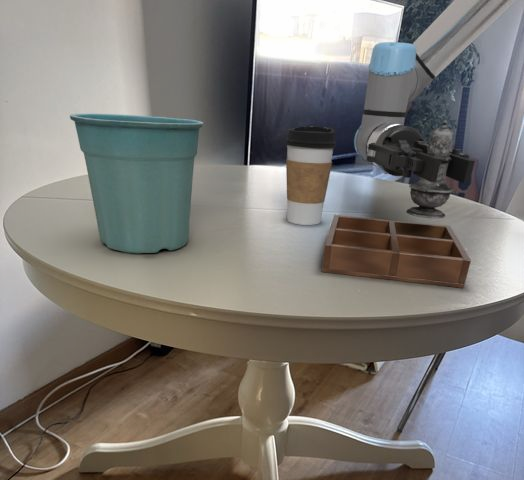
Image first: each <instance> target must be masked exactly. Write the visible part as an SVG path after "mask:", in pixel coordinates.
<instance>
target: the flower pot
mask: <svg viewBox="0 0 524 480" xmlns="http://www.w3.org/2000/svg"><path fill="white" fill-rule="evenodd" d="M69 119H70V120H71V121H73V122H74V127H75V130H76V134H77V139H78V145H79V149H80V151H81V152H82V153H83V156H84V157H83V158H84V161H85V166H86V171H87V177H88V181H89V187H90V192H91V198H92V202H93V208H94V214H95V219H96V224H97V229H98V234H99V239H100V243H101V244H102V245H106V247H107V248H108V249H111V250H115V251H119V252H123V253H129V254H156V253H159V251H161V250H165V249H166V250H168V251H175V250H178V249H181V248H183V247H185V245H187V244H188V241H189V232H190V217H191V207H192V206H191V204H192V194H193V181H194V180H193V179H194V167H195V157H196V156H197V154H198V144H199V135H200V128H203V126H204V122H203V121H200V120H195V119H186V118H185V119H184V118H173V117H164V116H150V115H138V114H137V115H135V114H118V113H117V114H115V113H114V114H113V113H72V114H69Z"/></svg>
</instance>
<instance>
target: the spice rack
mask: <svg viewBox="0 0 524 480" xmlns="http://www.w3.org/2000/svg"><path fill="white" fill-rule="evenodd" d="M471 262H472V260H471V258H470V257H469V255H468V253H467V252H466V250H465V249H464V246H463V245H462V243H461V242H460V240H459V238H458V236H457V235H456V233H455V231H454V229H453V228H452V226H451V225H445V224H435V223H434V224H433V223H423V222H413V221H403V220H392V219H391V220H390V219H381V218H371V217H362V216H350V215H340V214H334V215H333V218H332V221H331V225H330V227H329V231H328V234H327V237H326V240H325V242H324V249H323V258H322V266H321V273H327V274H328V273H329V274H336V275H347V276H356V277H363V278H371V279H381V280H389V281H390V280H391V281H397V282H406V283H416V284H425V285H432V286H433V285H434V286H441V287H442V286H443V287H450V288H460V289H464V288H465V284H466V280H467V278H468V275H469V274H468V273H469V270H470V265H471Z"/></svg>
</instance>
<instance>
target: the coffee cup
mask: <svg viewBox="0 0 524 480" xmlns="http://www.w3.org/2000/svg"><path fill="white" fill-rule="evenodd" d="M284 144H285V145H286V148H287V149H286V151H287V152H286V153H287V154H286V158H285V165H286V168H285V169H286V170H285V171H286V174H285V175H286V220H287V222H289V223H291V224H294V225H301V226H314V225H319V224H320V223H321V221H322V216H323V210H324V204H325V200H326V195H327V190H328V185H329V180H330V176H331V171H332V167H333V166H332V165H333V160H332V159H333V153H334V149H335V148H337V142H336V129H334V128H332V127H327V126H315V125H303V126H302V125H301V126H295V127H292V128H289V129H288V134H287V138H286V139H285V143H284Z"/></svg>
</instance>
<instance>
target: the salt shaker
mask: <svg viewBox="0 0 524 480" xmlns="http://www.w3.org/2000/svg"><path fill="white" fill-rule="evenodd" d="M447 125H448V120H447V119H444V121H443V122H442V125H441V126H439V127H437V128H435V129H433V131H432V132H431V133H430V138H429V141H428V145H429V147H428V152H427V154H428V155H431V156H434V157H437V158H440V159H441V162H440V167H439V171H438V176H437V181H436V182H430V181H428V180H426V179H424V178H422V177H419V180H418V181H416V182H413V183H410V184H409V185H408V188H409V189H410V191H409V192H410V198H411V199H410V200H411V201H412V202H413V203H414V204H415V205H417V206H411V207H410V208H408V209H406V212H405V213H407V214H408V215H410V216H415V217H419V218H424V219H444V218H445V217H446V214H445V213H444V212H443V211H442V210H440V209H437V208H439V207H442V206H443V205H445V204H446V203H447V202H448V200H449V199H450V196H451V193H453V192H454V188H452V187H449V186H448V184H447V176H446V172H447V167H448V163H449V161H451V160H452V159H451V158H450V157H449V156H450V151H451V149H452V146H453V142H454V137H455V133H454V131H453V129H450V128H449V126H447Z"/></svg>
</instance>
